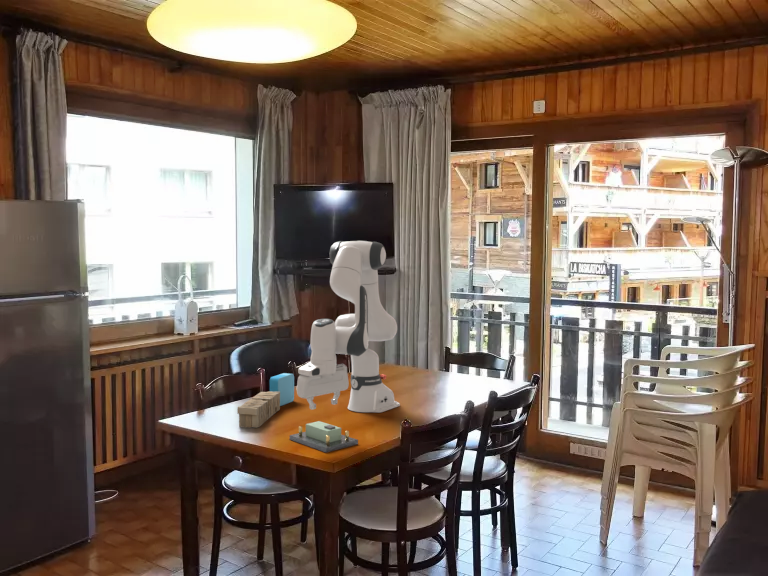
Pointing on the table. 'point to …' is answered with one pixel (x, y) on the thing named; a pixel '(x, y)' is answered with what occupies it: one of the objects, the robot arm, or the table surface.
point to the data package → (283, 387)
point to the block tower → (258, 409)
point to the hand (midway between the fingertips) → (323, 406)
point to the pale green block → (323, 431)
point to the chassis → (324, 446)
